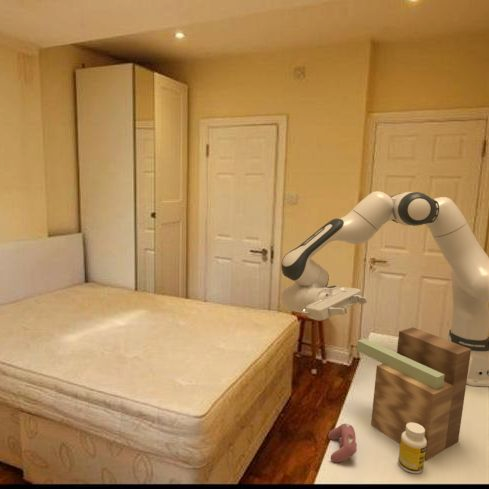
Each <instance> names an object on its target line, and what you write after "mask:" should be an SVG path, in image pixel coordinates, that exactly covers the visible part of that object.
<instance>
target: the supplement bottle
mask: <svg viewBox="0 0 489 489" xmlns="http://www.w3.org/2000/svg"><path fill="white" fill-rule="evenodd" d="M424 435H425V429H424V427H423V426H421V425H420V424H417V423H412V422H411V423H407V424H406V431H404V432H403V433H402V436H401V443H400V444H399V453H398V460H397V462H398V465H399V466H400V468H401V469H402V470H404V471H406V472H407V473H411V474H420V473H421V472H423V470H424V466H425V453H426V446H427V441H426V438H425V437H424Z"/></svg>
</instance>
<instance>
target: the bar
mask: <svg viewBox="0 0 489 489" xmlns="http://www.w3.org/2000/svg"><path fill="white" fill-rule="evenodd" d="M356 351H358V352H359V353H361V354H363V355H365V356H367V357H368V358H371V359H373V360H375V361H377V362H379V363H380V364H385V365H387V366H389V367H391V368H393V369H395V370H397V371H399V372H401V373H403V374H405V375H407V376H409V377H411V378H413V379H415V380H417V381H419V382H422V383H424V384H426V385H428V386H430V387H432V388H434V389H438V388H440V387H443V383H444V374H442V373H440V372H438V371H436V370H433V369H431V368H429V367H427V366H424V365H422V364H420V363H418V362H416V361H413V360H411V359H409V358H407V357H405V356H402V355H400V354H398V353H397V351H396V352H395V351H393V350H391V349H389V348H386V347H385V346H383V345H380V344H377V342H374V341H371V340H369V339H367V338H362V339H359V340H357V344H356Z"/></svg>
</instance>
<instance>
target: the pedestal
mask: <svg viewBox="0 0 489 489" xmlns="http://www.w3.org/2000/svg"><path fill="white" fill-rule="evenodd" d="M397 339H398V340H397V347H396V348H397V349H396V350H397V351H396V353H398V354H400V355H402V356H405V357H407V358H409V359H411V360H413V361H416V362H418V363H420V364H422V365H424V366H427V367H429V368H431V369H433V370H436V371H438V372H440V373H442V374H444V383H443V387H440V388H438V389H434V388H432V387H430V386H428V385H426V384H424V383H422V382H419V381H417V380H415V379H413V378H411V377H409V376H407V375H405V374H403V373H401V372H399V371H397V370H395V369H393V368H391V367H389V366H387V365H385V364H383V363H380V364H378V365H376V369H375V370H376V371H375V378H374V379H375V381H374V390H373V391H374V392H373V402H372V410H371V411H372V412H371V422H370V425H371V426H372V427H374V428H375V429H377V430H378V431H379V432H381V433H383V434H384V435H386V436H387V437H389V438H390V439H392V440H393V441H395V442H396V443H398V444H399V445H400V443H401V436H402V433H403V432H404V431H406V424H407V423H411V422H412V423H417V424H420V425H421V426H423V427H424V429H425V435H424V437H425V438H426V441H427V446H426V453H425V460H424V462H425V461H428V460H430V459H431V458H432V457H435V456H437V455H438V454H439V453H442V452H443V451H444V450H446V449H449V447H451V446H453V445H455V444H456V443H458V442H459V439H460V432H461V424H462V418H463V409H464V404H465V394H466V390H467V389H466V388H467V383H466V382H467V375H468V368H469V361H470V354H471V349H469V348H467V347H464V346H461V345H459V344H456V343H453V342H451V341H448V339H445V338H443V337H439V336H437V335H434V334H432V333H429V332H426V331H424V330H420V329H418V328H415V327H409V328H406V329H405V328H404V329H403V330H399V331H398V338H397Z"/></svg>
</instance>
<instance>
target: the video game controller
mask: <svg viewBox="0 0 489 489" xmlns="http://www.w3.org/2000/svg"><path fill="white" fill-rule="evenodd" d="M327 436H328V439H330V440H332V441H333V440H339V439H340V440H339V446H340V448H339V449H337V450H336V451H334V452H333V453H332V454H331V455H330V461H331V462H333V463H341V462H344V461H346V460H348V459H349V458H350V457H351V458H352V457H353V456H354V455H355V454H356V453H357V450H358V449H357V447H358V446H357V441H356V432H355V429H354V426H352V425H351V424H350V423H349V424H347V423H346V422H345V423H341V424H340V425H338V426H337V427H335V428H333V429H332V430H330V431H329V432H328V435H327Z"/></svg>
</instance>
